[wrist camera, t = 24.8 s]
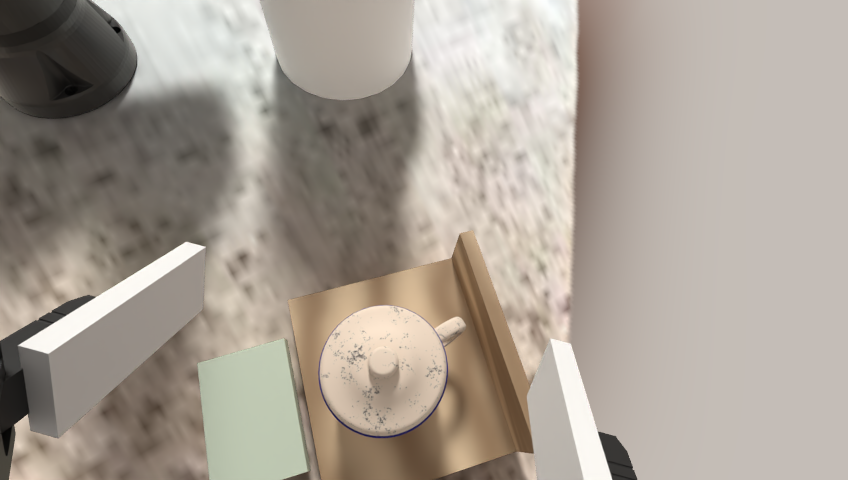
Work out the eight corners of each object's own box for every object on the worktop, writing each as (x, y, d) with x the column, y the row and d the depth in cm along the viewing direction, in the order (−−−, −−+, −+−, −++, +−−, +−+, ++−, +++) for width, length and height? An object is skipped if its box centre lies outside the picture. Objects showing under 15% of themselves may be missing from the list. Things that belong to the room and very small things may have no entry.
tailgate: (284, 338, 40) (197, 363, 40) (307, 471, 36) (211, 502, 36) (289, 341, 42) (205, 365, 41) (312, 469, 38) (220, 499, 37)
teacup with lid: (366, 460, 37) (356, 471, 27) (314, 364, 40) (285, 338, 29) (483, 378, 40) (517, 358, 30) (428, 294, 43) (439, 248, 32)
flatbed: (458, 265, 48) (472, 230, 40) (520, 446, 41) (552, 448, 33) (294, 308, 45) (272, 279, 37) (332, 509, 38) (316, 530, 30)
